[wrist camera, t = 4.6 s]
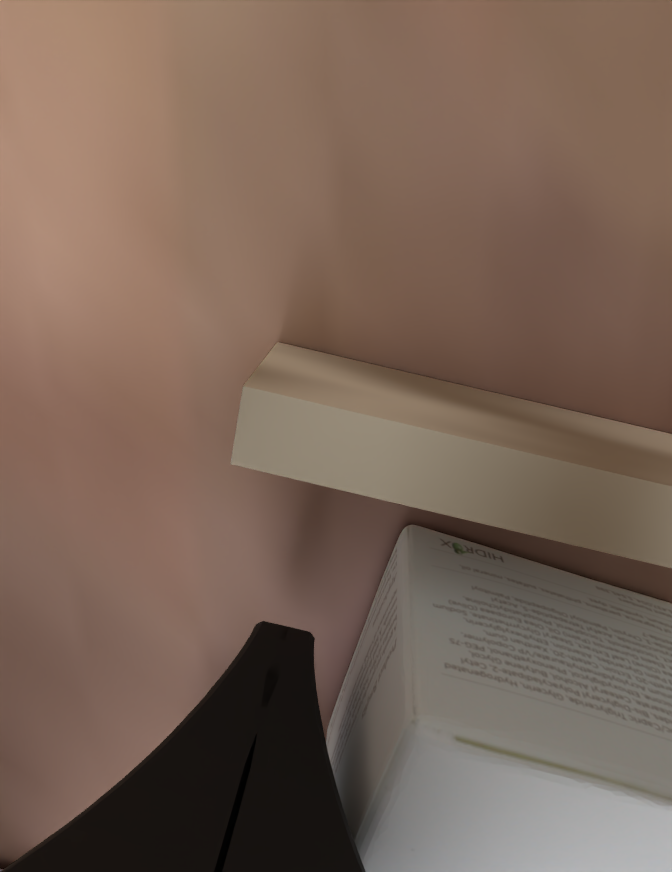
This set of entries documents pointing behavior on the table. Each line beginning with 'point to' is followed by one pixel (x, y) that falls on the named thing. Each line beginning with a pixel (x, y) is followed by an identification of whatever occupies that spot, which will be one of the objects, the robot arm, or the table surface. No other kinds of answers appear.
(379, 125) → the table surface
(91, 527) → the table surface
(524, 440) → the parallel cream rails
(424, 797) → the small box
